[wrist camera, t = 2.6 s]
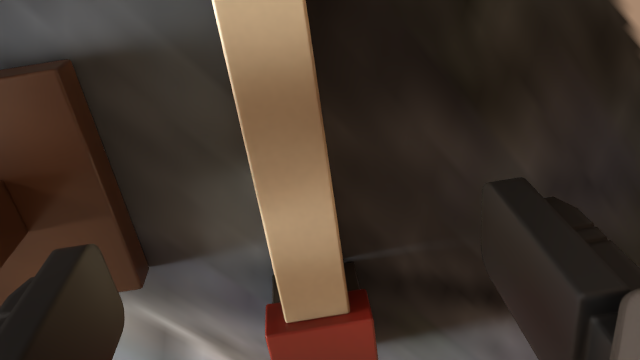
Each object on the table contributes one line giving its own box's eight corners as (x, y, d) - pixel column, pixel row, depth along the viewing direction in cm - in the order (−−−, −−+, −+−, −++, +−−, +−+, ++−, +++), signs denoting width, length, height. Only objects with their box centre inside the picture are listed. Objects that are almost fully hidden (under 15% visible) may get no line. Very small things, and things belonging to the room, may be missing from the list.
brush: (151, -212, 12) (110, -253, 9) (297, -235, 12) (304, -283, 9) (287, 362, 22) (289, 433, 19) (369, 348, 22) (385, 418, 19)
